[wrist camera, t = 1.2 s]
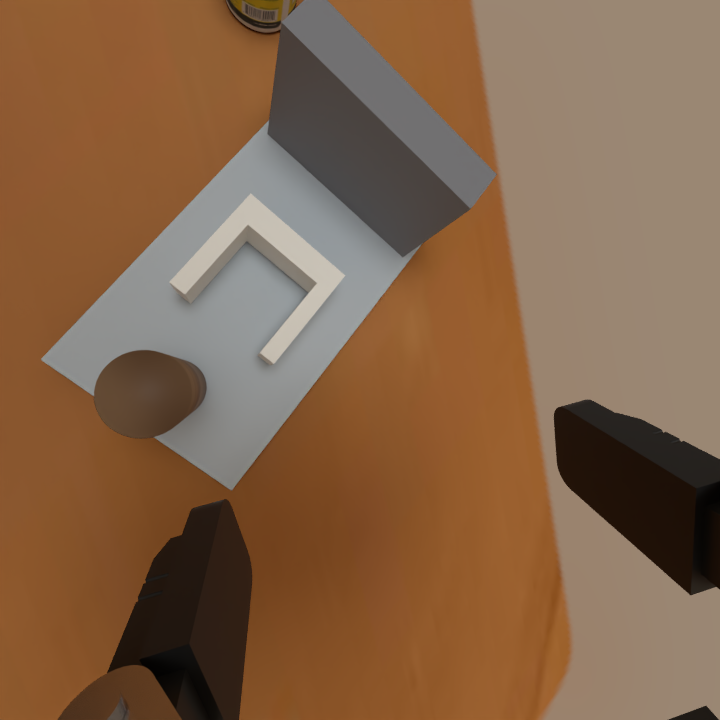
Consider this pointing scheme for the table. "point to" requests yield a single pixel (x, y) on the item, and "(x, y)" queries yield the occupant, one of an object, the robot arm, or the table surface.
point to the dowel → (148, 393)
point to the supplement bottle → (262, 13)
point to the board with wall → (308, 219)
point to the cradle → (279, 248)
